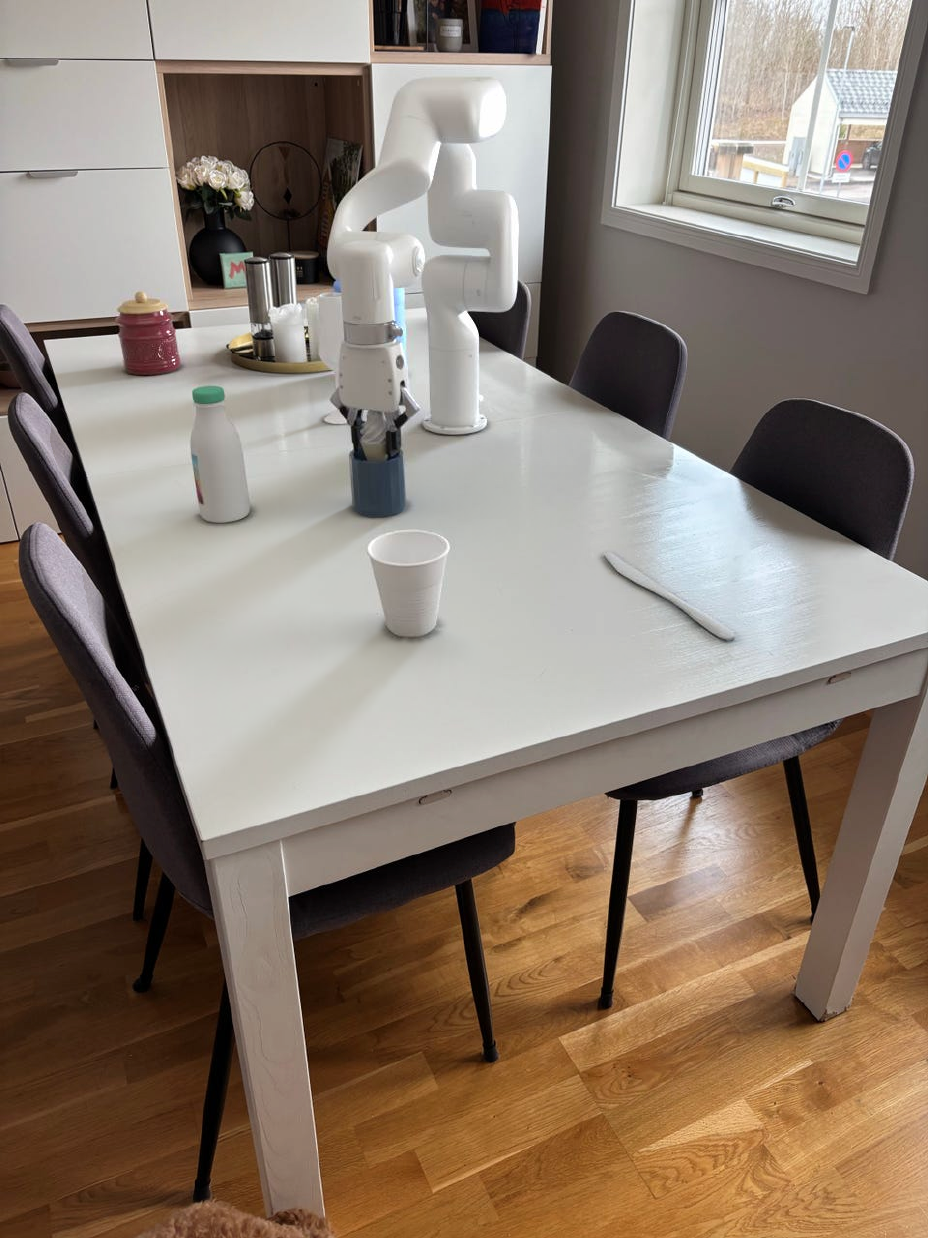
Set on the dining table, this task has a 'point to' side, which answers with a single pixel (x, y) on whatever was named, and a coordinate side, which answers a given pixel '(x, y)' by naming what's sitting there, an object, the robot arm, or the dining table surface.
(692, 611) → the butter knife
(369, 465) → the tumbler
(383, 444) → the ice cream cone
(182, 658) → the dining table surface
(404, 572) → the cup
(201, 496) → the milk bottle
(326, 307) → the champagne flute
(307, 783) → the dining table surface
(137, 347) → the kitchen canister
